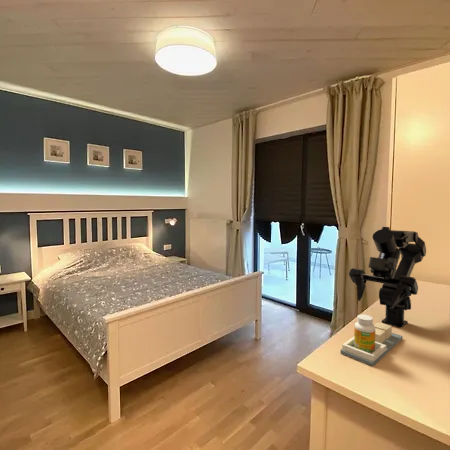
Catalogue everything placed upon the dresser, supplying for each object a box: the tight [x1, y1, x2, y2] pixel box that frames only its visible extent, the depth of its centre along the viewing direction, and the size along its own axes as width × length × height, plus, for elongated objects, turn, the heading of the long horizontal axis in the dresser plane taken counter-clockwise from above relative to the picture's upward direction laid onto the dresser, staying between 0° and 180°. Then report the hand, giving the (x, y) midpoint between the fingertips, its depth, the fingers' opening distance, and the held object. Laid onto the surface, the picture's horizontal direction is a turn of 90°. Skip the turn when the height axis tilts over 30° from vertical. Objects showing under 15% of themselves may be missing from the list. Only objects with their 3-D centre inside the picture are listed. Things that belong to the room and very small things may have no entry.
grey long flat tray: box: [340, 322, 403, 367], centre depth 86 cm, size 22×9×4 cm, turn 131°
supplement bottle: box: [353, 313, 375, 354], centre depth 82 cm, size 5×5×10 cm
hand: (374, 304), depth 87 cm, fingers open, 9 cm apart
